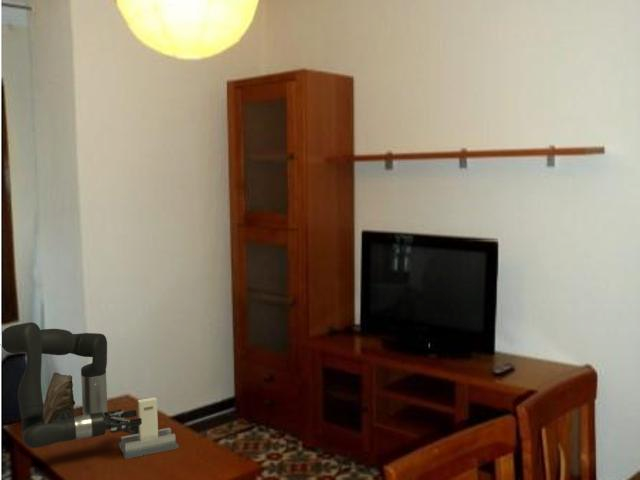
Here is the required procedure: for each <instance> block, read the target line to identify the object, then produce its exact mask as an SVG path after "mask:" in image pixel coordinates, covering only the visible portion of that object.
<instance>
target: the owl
mask: <svg viewBox="0 0 640 480" xmlns="http://www.w3.org/2000/svg"><path fill="white" fill-rule="evenodd" d="M73 386H74V384H73V376H72V375H71V374H69V375H67V374H61V373H59V372H53V374H52V377H51V380H50V382H49V385H48V388H47V390H46V394H45V400H44V401H43V408H44V410H43V416H44V423H45V424H47V423H54V422H57V421H59V420H63V419H69V418H74V417H76V415H75V408H74V406H75V404H76V402H75V398H74V390H73Z"/></svg>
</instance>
